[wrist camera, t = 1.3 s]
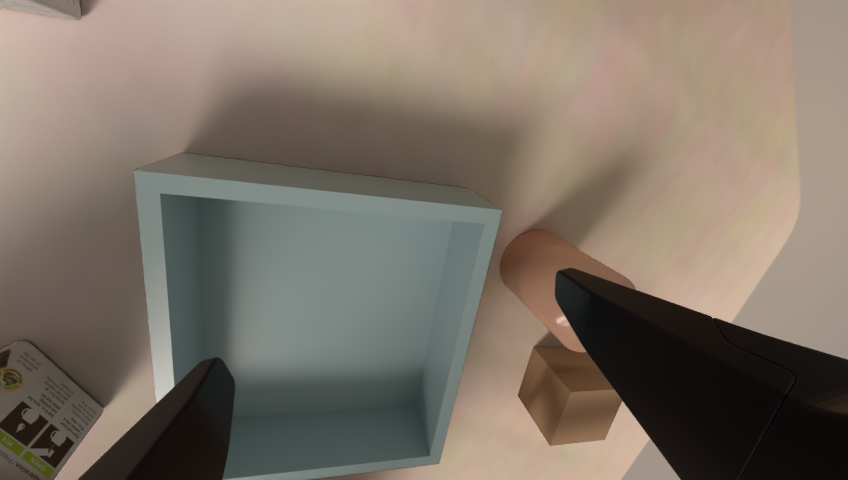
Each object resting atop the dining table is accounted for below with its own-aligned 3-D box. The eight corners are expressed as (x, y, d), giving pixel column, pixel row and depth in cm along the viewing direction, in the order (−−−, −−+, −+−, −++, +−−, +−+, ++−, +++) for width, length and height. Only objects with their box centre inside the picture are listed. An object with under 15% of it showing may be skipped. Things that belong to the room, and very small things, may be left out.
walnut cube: (565, 391, 32) (604, 439, 27) (517, 394, 31) (550, 445, 26) (583, 345, 30) (627, 388, 26) (532, 346, 29) (570, 392, 24)
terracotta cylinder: (550, 293, 27) (618, 351, 21) (492, 291, 26) (546, 353, 19) (570, 232, 26) (649, 275, 19) (509, 226, 24) (573, 271, 18)
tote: (421, 405, 28) (439, 463, 23) (196, 420, 23) (165, 496, 19) (467, 188, 22) (502, 210, 18) (182, 152, 18) (133, 170, 13)
